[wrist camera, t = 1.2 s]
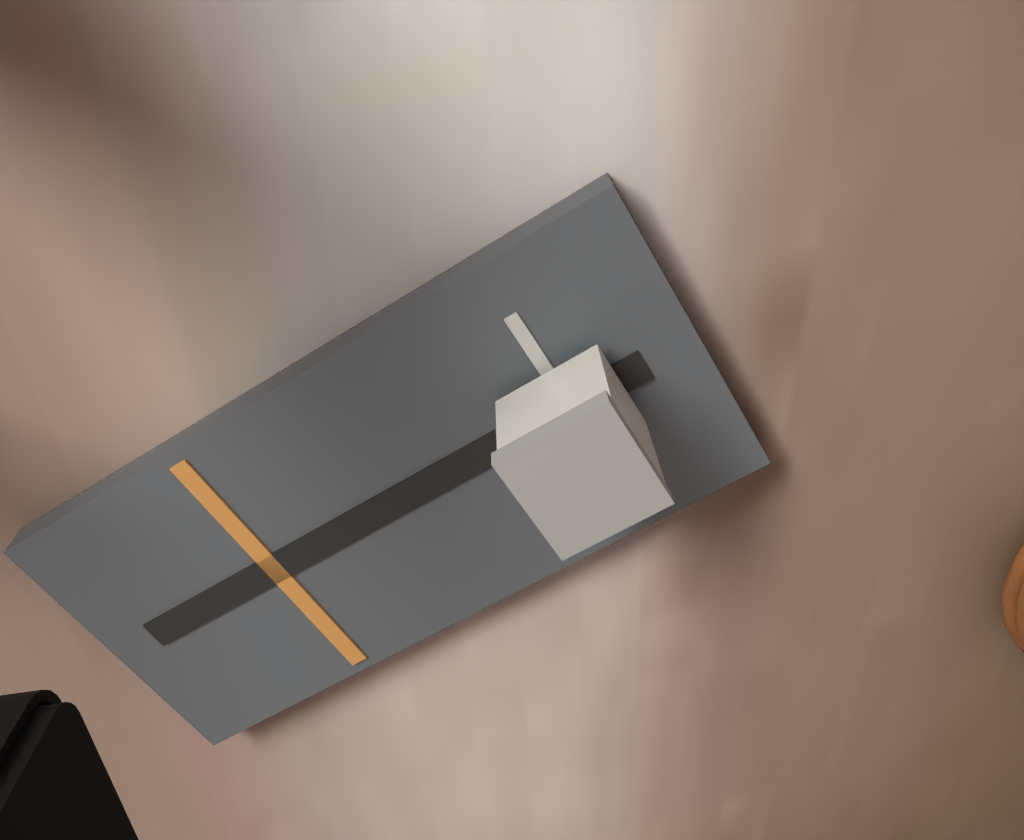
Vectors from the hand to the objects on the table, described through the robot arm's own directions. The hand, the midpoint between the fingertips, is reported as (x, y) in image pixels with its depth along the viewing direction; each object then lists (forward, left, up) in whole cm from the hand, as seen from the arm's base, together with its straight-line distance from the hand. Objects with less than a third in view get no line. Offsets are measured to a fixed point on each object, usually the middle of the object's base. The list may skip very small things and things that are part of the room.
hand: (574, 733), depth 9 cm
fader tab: (+3, +8, -22) cm, 24 cm away
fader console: (+11, +8, -24) cm, 28 cm away
